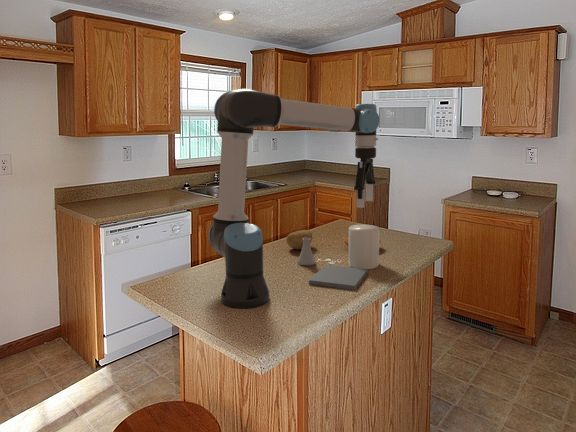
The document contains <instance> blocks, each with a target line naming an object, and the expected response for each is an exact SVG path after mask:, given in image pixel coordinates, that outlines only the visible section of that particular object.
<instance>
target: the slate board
mask: <svg viewBox="0 0 576 432" xmlns="http://www.w3.org/2000/svg"><path fill="white" fill-rule="evenodd" d="M368 270H369V269H358V268H353V267H350V266H349V267H347V266H338V265H330V264H329V265H328V264H325V265H324V266H323V267H322V268H320V269H319V270H318V271H317V272H316V273H315V274H314V275H313V276H312V277H311V278H310V279H308V284H309V285H312V286H318V287H319V286H320V287H326V288H327V287H328V288H338V289H343V290H350V291H351V290H352V291H355V290H356V289H357V288H358V287H359V285H360V284H361V283H362V281H363V280H364V279H365V278H366V276H367V275H368V274H369V273H368V272H369V271H368Z"/></svg>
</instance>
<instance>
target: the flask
mask: <svg viewBox="0 0 576 432" xmlns="http://www.w3.org/2000/svg"><path fill="white" fill-rule="evenodd" d="M310 240H311V239H310V238H303V248H302V249H301V252H300V255H299V256H298V257H299V258H298V260H297V264H298V265H299V266H304V267H305V266H314V265H315V264H317V262H316V259H315V257H314V254H313V252H312V248H311V243H310ZM311 241H312V240H311Z"/></svg>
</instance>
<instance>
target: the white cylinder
mask: <svg viewBox="0 0 576 432" xmlns="http://www.w3.org/2000/svg"><path fill="white" fill-rule="evenodd" d="M380 233H381V232H380V227H379V226H377V225H372V224H354V225H350V226H349V227H348V237H347V238H348V246H347V248H348V250H347V251H348V255H347V257H348V258H347V264H348V266H349V268H358V269H367V270H372V269H376V268H378V266H379V265H380V244H379V240H380Z"/></svg>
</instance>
